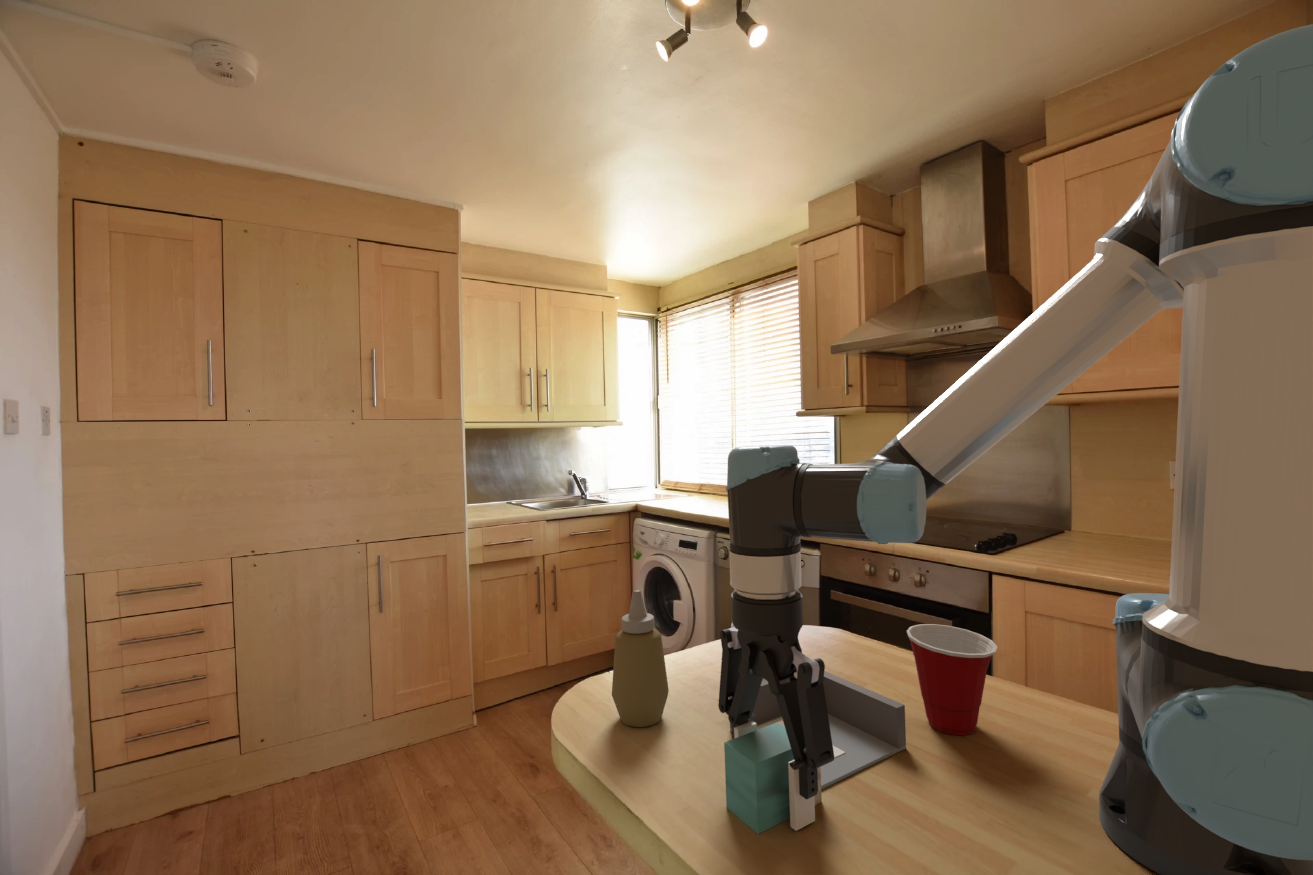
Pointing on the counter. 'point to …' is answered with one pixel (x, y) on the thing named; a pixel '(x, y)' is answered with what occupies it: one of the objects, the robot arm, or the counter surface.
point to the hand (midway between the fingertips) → (773, 801)
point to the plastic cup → (951, 674)
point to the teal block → (760, 777)
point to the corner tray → (847, 725)
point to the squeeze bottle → (639, 668)
